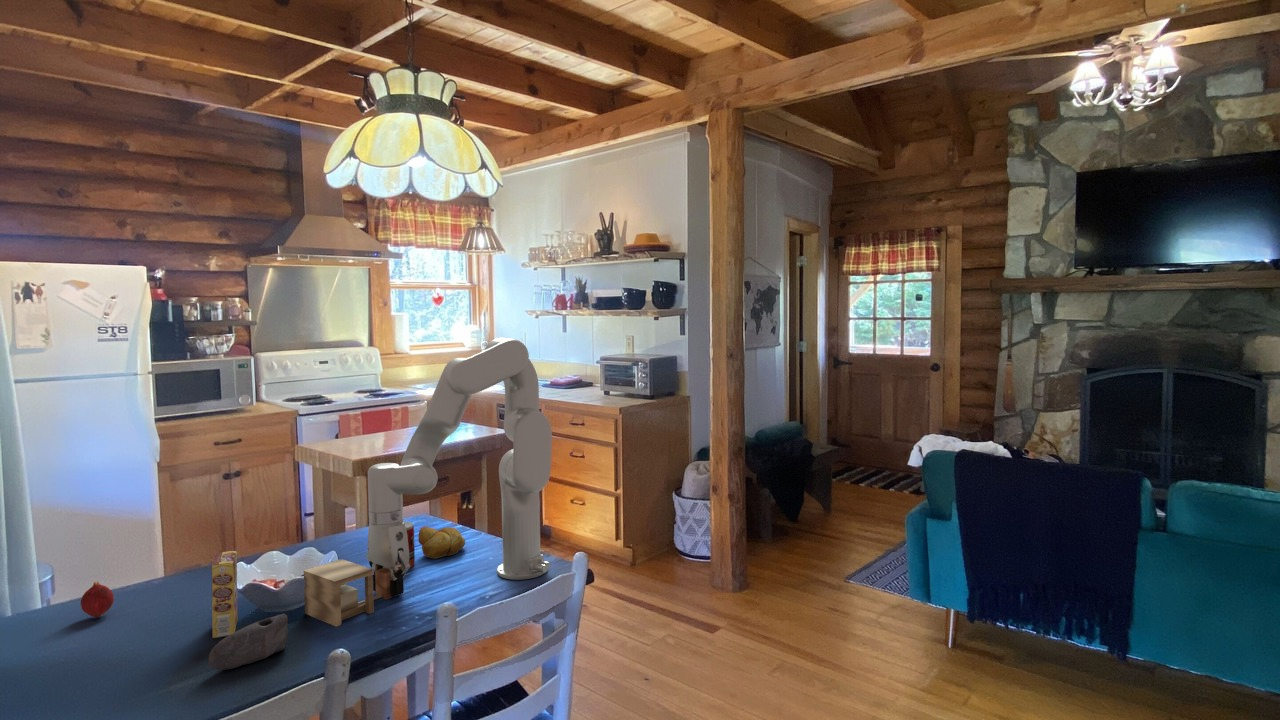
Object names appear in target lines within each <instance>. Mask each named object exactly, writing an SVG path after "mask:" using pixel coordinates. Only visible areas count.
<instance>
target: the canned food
mask: <svg viewBox="0 0 1280 720" xmlns="http://www.w3.org/2000/svg"><path fill="white" fill-rule="evenodd" d="M403 522H404V523H405V526H406V531H407V537H408V546H409V564H410V568H409V569H411V568H413V567H414V565H415V562H416V561H415V560H416V559H415V557H416V556H415V526H414V523H413V522H411V521H404V520H403ZM395 565H398V563H397V562H396V563H395ZM384 568H385V567H384Z"/></svg>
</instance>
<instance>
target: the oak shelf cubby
mask: <svg viewBox="0 0 1280 720" xmlns="http://www.w3.org/2000/svg"><path fill="white" fill-rule="evenodd" d="M363 578H364V595H365V596H364V597H365V599H364V600H365V603H364V604H361V605H359V606H356V607H353V608H351V609H348V610H345V611H343V612H341V598H340V586H341V585H344V584H345V585H347V584H348V583H351V582H354V581H357V580H360V579H363ZM304 580H305V581H306V582H305V588H304V587H303V589H304V590H303V591H304V594H303V595H304V614H305V615H308V616H310V617H312V618H315V619H317V620H319V621H322V622H325V623H326V624H329V625H331V626H333V627H339V626H342V621H344V620H346V619H349V618H351V617H354V616H357V615H359V614H362V613H364V612H365V613H366V614H367V615H370V614H373V613H374V612H375V605H374V602H375V600H373V596H374V590H373V569H372V568H371V567H367V566H364V565H361V564H358V563H355V562H352V561H349V560H346V559H342V558H341V559H337V560H334V561H330V562H327V563H324V564H321V565H317V566H314V567H311V568H307V569H304V570H303V581H304Z"/></svg>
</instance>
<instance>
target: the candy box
mask: <svg viewBox="0 0 1280 720" xmlns="http://www.w3.org/2000/svg"><path fill="white" fill-rule="evenodd" d="M237 555H238V553H237V550H229V551H223V552H216V553H215V554H214V558H213V561H212V564H211V611H212V614H211V616H212V619H211V621H212V639H217V638H222V637H223V638H225V637H227V636H229V635H231V634H233V633H234V632H236V629H237V628H236V627H237V623H238V618H239V617H238V616H239V615H238V614H239V611H238V609H239V608H238V602H239V601H238V564H237V563H238V558H237Z"/></svg>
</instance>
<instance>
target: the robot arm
mask: <svg viewBox="0 0 1280 720" xmlns="http://www.w3.org/2000/svg"><path fill="white" fill-rule="evenodd" d="M529 353H530V352H529V351H528V348H527V346H526V345H525V344H524V343H523V342H522V341H520V340H518V339H515V338H506V337H499V338H497V337H496V338H495V339H492V340H491V341H489V342H488V343H487V344H486V345H485V348H484V350H483V351H481V352H479V353H476V354H473V355H472V356H471V355H470V356H469V357H456V358H453V359H451V360H449V361H448V362H447V363H446V365H445V367H444V369H443V371H442V372H441V374H440V377H439V380H438V381H437V384H436V386H435V389H434V392H433V393H432V397H431V398H430V401H429V403H428V406H427V408H426V410H425V412H424V415H423V417H422V418H421V420H420V421H419V423H418V426H417V428H416V429H415V431H414V432H413V435H412V436H411V438H410V441H409V443H408V445H407V447H406V449H405V451H404V455H403V457H402V459H401V462H400V464H399V463H394V462H381V463H375V464H373V465H371V466H370V467H369V468H368V470H367V493H368V494H367V495H368V501H367V502H368V522H369V524H368V532H367V552H366V554H365V557H366V559H367V561H368V564H369V567H370V568H371V569H373V592H376V582H375V571H376V570H379V569H382V568H384V567H388V568H389V569H390V573H391V577H392V580H390V595H391V597H392V598H395V597H397V596H400V595H403V594H404V592H405V591H404V590H405V589H404V578H405V577H406V573H407V572H408V570H409V569H411V568H410V564H409V546H408V537H407V531H406V526H405V523H404V522H403V521H404V502H403V501H404V499H403V496H404V495H424V494H428V493H429V492H431V491H432V490H433V489H434V488H435V487H436V486H437V483H438V479H439V477H438V473H437V470H436V468H434V466H433V464H434V462H435V459H436V458H437V456H438V453H439V451H440V449H441V447H442V445H443V443H444V442H445V441H446V439H447V438H448V437H449V436H451V435H452V434H453V433H454V432H456V430H457V429H458V428H459V426H460V424H461V422H462V420H463V417H464V414H465V412H466V410H467V406H468V404H469V403H470V400H471V397H472V395H475V394H477V393H480V392H482V391H485V390H487V389H490V388H491V387H494V386H495V385H497V384H499V383H501V382H503V384H504V385H503V386H504V418H503V419H504V420H503V432H504V434H505V436H506V437H507V439H509V441H511V442H512V444H513V447H512V449H510V450H508V451H507V452H506V453H504V454H503V456H502V457H501V459H500V461H499V466H498V478H499V485H500V494H501V522H502V523H501V527H502V529H501V530H502V531H501V534H502V563H501V564H500V565H498V566H497V568H496V574H497V576H499V577H501V579H502V578H503V579H507V580H512V581H513V580H514V581H515V580H518V581H519V580H520V581H521V580H522V581H523V580H529V579H534V578H538V577H541V576H542V575H544V574H546V573H547V572H548V569H549V568H550V567H551V562H550V561H546V560H544V554H542V553H541V518H540V517H541V515H540V514H541V513H540V511H541V510H540V509H541V501H540V492H541V491H542V490H543V489H544V488H545V487H546V486H547V484H548V482H549V480H550V477H551V476H550V475H551V469H552V450H553V449H552V445H553V444H552V443H553V433H552V427H551V423H550V420H549V419H548V416H546V414H544V413H543V412H542V411H540V394H539V392H540V386H539V377H538V373H537V372H536V369H535V366H534V365H533V362H532V360H531V359H530V358H529V357H530V354H529ZM396 562H397V563H398V565H395V563H396ZM395 568H398V571H397V572H395Z"/></svg>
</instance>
